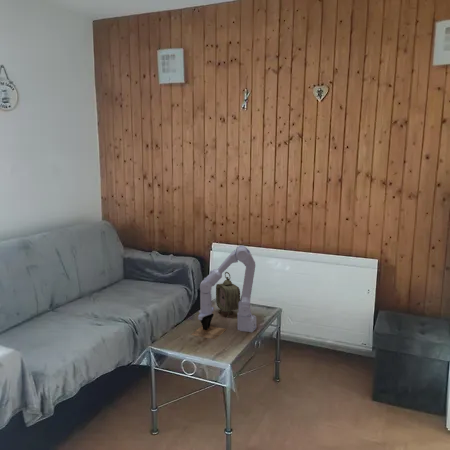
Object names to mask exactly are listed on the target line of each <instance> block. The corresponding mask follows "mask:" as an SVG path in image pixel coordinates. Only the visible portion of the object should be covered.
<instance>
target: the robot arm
mask: <svg viewBox="0 0 450 450" xmlns="http://www.w3.org/2000/svg"><path fill="white" fill-rule="evenodd" d="M238 262H240V263H242V264H243V265H244V266H245V271H244V278H243V283H242V292H241V294H240V301H239V303H238V307H239V309H238V310H237V311H238V312H237V313H236V314H237V319H236V321H237V323H236V324H237V331H240V332H246V333H248V332H249V333H253V332H254V331H256V329H257V316H256V315H255V314H254V315H253V314H252V309H251V296H252V290H253V283H254V277H255V271H256V261H255V260H254V257H253V256H252V254H251V252H250V249H249V248H247V246H245V245H239V246H237V247H236V249H234V250H233V251H232V252H231V253H229V255H228V256H227V257H226V258H225V259H224V261H223V262H222V263H221V264H220V265H219V266H218V268H214V269H211V270H210V271H209V274H208V275H207V276H206V277H204V278H203V280H202V281H201V282H200V284H199V292H200V295H199V297H200V299H199V301H200V302H199V303H200V304H199V305H200V310H198V313H199V314H198V316H197V320H198V321H200V323H201V326H202V327H203V330H207V329H208V328H210V326H211V322H212V320H213V317H214V313H213V312H214V311H215V307H213V306H212V304H213V303H212V302H213V301H212V288H213V287H214V286H215V285H217V284H218V282H219V281H220V280H221V278H222V277H223V273H225V272H226V270H227V269H228V268H229V267H230V266H231V265H232V264H234V263H238Z"/></svg>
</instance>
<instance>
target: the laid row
mask: <svg viewBox="0 0 450 450" xmlns="http://www.w3.org/2000/svg"><path fill="white" fill-rule="evenodd" d="M190 336H195V337H201V338H206V339H212V340H216V339H218V338H219V337H221V335H216V334H210V333H205V332H199V331H196V330H195V331H193V332H192V333H191V334H190Z"/></svg>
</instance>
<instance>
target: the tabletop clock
mask: <svg viewBox="0 0 450 450" xmlns="http://www.w3.org/2000/svg"><path fill="white" fill-rule="evenodd" d="M226 274H228V276H227V275H226ZM224 278H225V280H223V282H222V283H216V284H215V285H216V286H215V301H216V306H217V308H218V309H219V310H218V313H222V312H224V313H226V312H227V315H226V319H230V315H233V313H234V311H238V310H239V307H238V303H239V301H240V299H241V290H240V287H239V286H237V285H236V284H234V283H233V282H232V280H231V274H230V273H229V272H228V271H224Z"/></svg>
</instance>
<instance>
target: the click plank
mask: <svg viewBox="0 0 450 450" xmlns="http://www.w3.org/2000/svg"><path fill="white" fill-rule="evenodd" d="M226 330H228V329H227V328H223V327H218V326H217V327H216V326H211V325H210V328H208V329H207V330H203V327H202V325H201V326H200V327H198V328H197V329H196V330H195V331H198V332H204V333H209V334H215V335H220V336H221V335H222V334H223V333H224V332H225V331H226Z"/></svg>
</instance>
